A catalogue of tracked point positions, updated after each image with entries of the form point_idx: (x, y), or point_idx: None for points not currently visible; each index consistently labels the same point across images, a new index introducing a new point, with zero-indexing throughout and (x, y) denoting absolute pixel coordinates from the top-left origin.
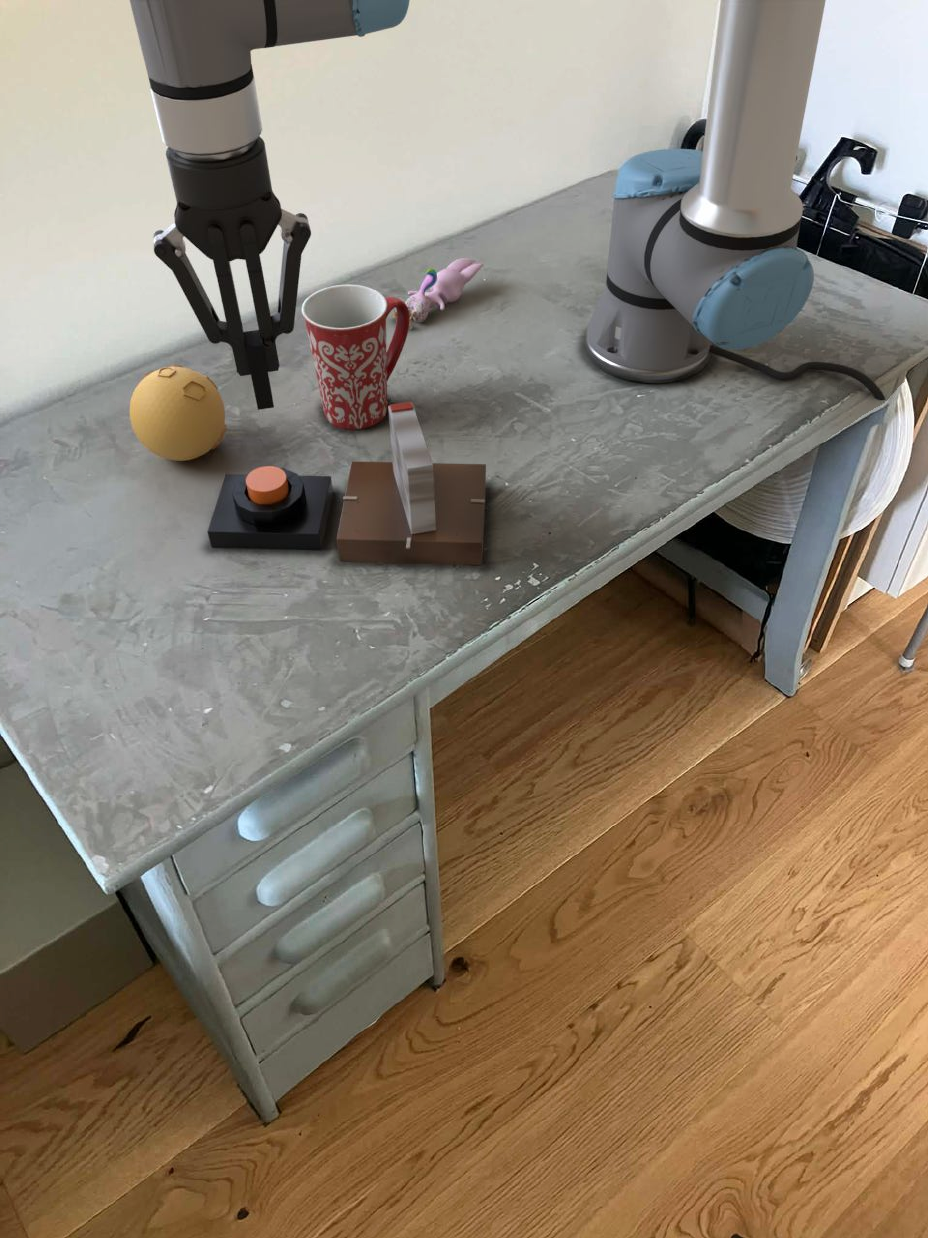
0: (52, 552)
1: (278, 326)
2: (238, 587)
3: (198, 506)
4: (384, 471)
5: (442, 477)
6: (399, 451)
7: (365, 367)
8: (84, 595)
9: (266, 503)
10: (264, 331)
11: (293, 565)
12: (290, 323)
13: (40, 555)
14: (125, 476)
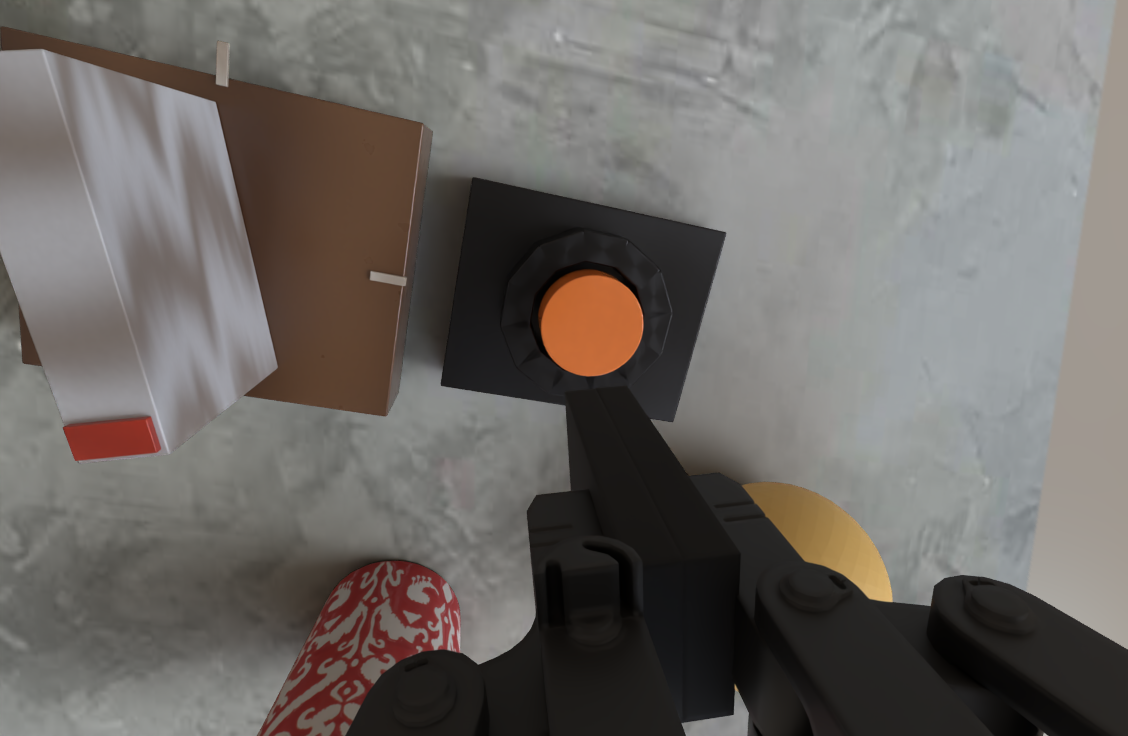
0: (1003, 269)
1: (498, 716)
2: (661, 87)
3: (725, 365)
4: (301, 369)
5: None
6: (137, 241)
7: (311, 686)
8: (964, 126)
9: (593, 269)
10: (615, 661)
11: (538, 139)
12: (379, 733)
13: (1025, 264)
14: (851, 469)
